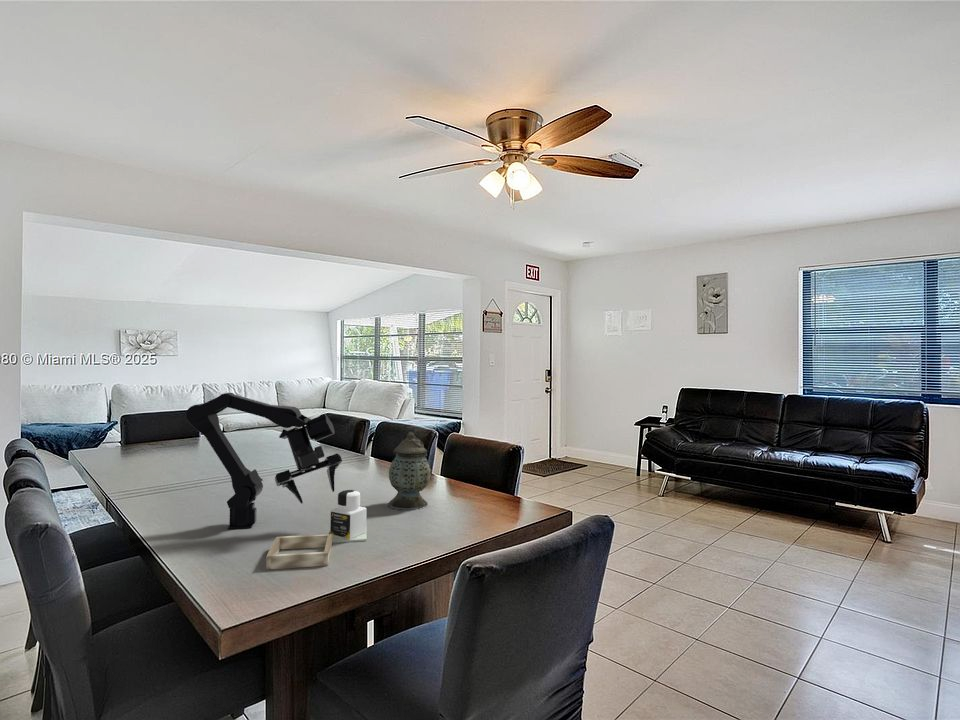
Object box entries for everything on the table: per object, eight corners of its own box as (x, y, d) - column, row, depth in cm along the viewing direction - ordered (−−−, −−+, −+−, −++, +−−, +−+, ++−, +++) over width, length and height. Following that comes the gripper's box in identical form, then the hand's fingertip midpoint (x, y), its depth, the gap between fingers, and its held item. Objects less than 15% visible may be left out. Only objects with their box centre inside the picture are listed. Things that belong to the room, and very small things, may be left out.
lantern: (409, 497, 191) (410, 427, 191) (438, 504, 182) (439, 432, 182) (379, 505, 180) (380, 431, 180) (408, 513, 171) (409, 436, 171)
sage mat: (328, 542, 143) (328, 541, 143) (331, 530, 153) (331, 529, 153) (366, 540, 145) (366, 539, 145) (366, 529, 155) (366, 527, 155)
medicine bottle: (329, 535, 147) (330, 492, 147) (347, 528, 154) (348, 487, 154) (349, 540, 144) (350, 495, 144) (366, 532, 150) (367, 490, 150)
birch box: (266, 569, 125) (266, 556, 125) (276, 548, 138) (276, 536, 138) (327, 565, 128) (328, 553, 128) (331, 545, 141) (332, 534, 141)
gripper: (269, 451, 146) (286, 505, 142) (335, 430, 155) (353, 481, 151) (268, 460, 155) (284, 511, 152) (330, 439, 164) (347, 487, 161)
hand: (318, 497), depth 154 cm, fingers open, 9 cm apart
